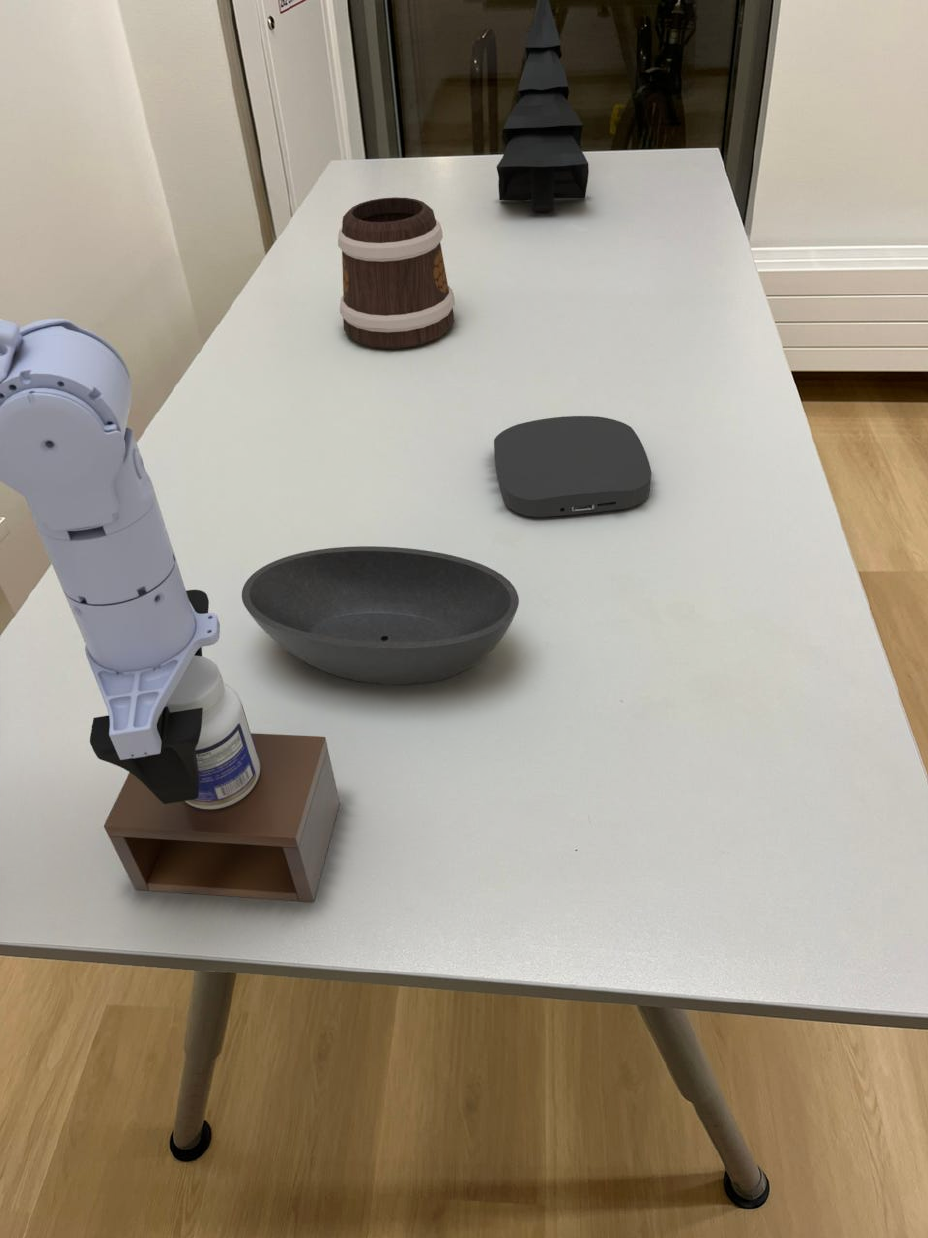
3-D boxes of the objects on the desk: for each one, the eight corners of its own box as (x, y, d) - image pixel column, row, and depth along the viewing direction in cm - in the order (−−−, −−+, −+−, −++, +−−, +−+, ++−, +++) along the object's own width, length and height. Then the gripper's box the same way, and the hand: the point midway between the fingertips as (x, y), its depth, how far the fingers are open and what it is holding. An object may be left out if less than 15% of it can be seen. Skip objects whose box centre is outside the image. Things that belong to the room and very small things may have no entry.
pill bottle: (182, 752, 62) (144, 651, 56) (263, 742, 62) (234, 641, 56) (172, 817, 58) (130, 717, 52) (258, 807, 58) (227, 706, 52)
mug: (449, 352, 119) (440, 230, 109) (331, 352, 121) (313, 232, 111) (466, 289, 134) (460, 177, 124) (361, 290, 136) (347, 179, 126)
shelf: (134, 890, 62) (103, 826, 58) (176, 792, 68) (150, 728, 64) (314, 902, 61) (295, 837, 56) (340, 802, 67) (325, 736, 62)
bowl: (508, 719, 72) (505, 660, 67) (233, 691, 75) (216, 633, 71) (530, 615, 80) (529, 556, 76) (284, 595, 84) (270, 538, 80)
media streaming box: (490, 446, 102) (488, 421, 100) (625, 432, 102) (626, 407, 100) (507, 524, 91) (506, 498, 89) (658, 509, 91) (661, 482, 89)
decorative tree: (585, 222, 161) (587, 4, 158) (589, 191, 147) (591, -50, 143) (499, 225, 163) (499, 9, 159) (494, 195, 148) (494, -44, 145)
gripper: (191, 652, 44) (250, 833, 52) (203, 484, 54) (251, 657, 63) (32, 676, 43) (120, 855, 52) (77, 501, 54) (143, 673, 63)
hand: (184, 747), depth 58 cm, fingers open, 7 cm apart
